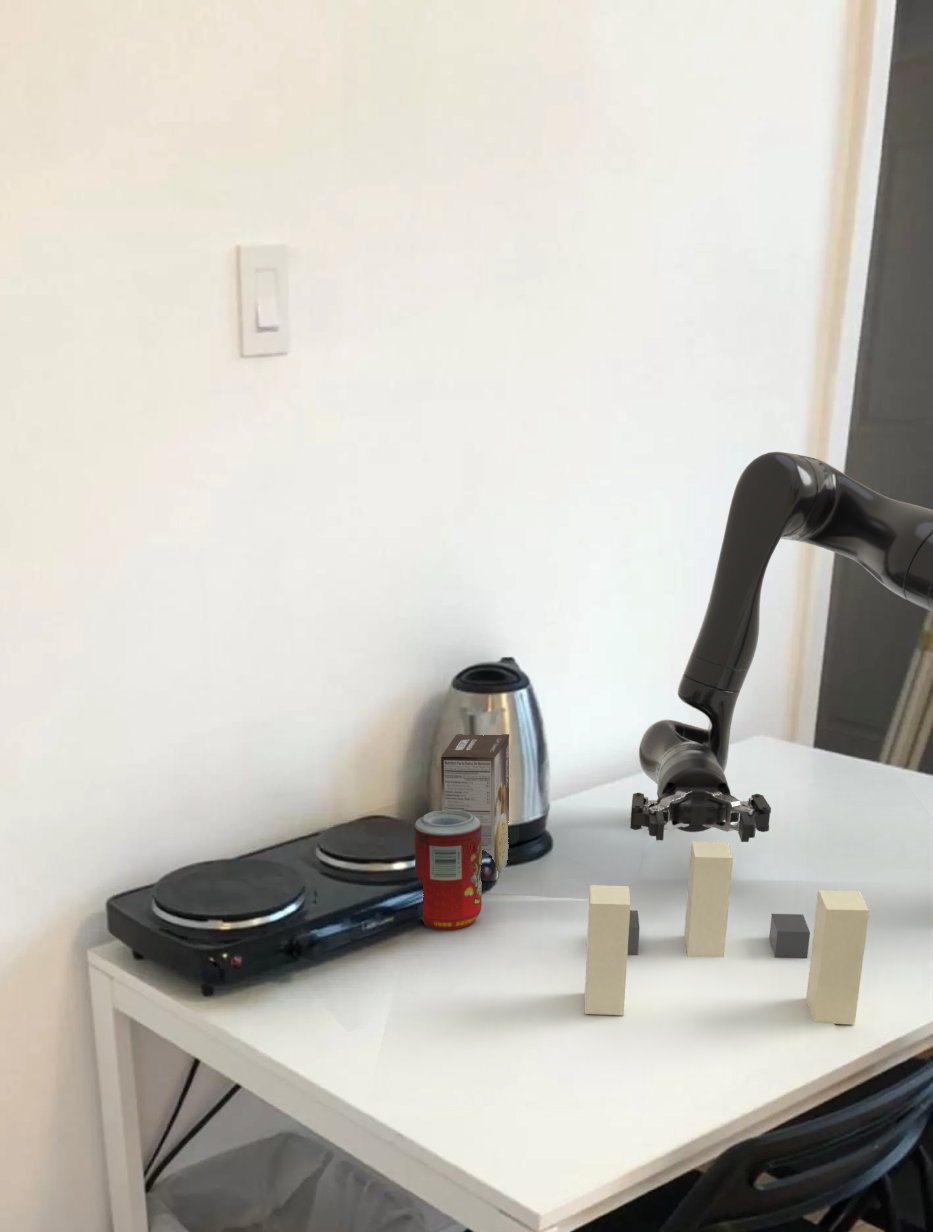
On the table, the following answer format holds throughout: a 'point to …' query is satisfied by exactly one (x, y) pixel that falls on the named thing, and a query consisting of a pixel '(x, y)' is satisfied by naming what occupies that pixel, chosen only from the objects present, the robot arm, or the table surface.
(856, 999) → the beige tall block
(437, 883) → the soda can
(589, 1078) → the table surface
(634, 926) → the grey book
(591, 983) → the cream rectangular block
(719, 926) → the tall beige block
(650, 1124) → the table surface
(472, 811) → the coffee box
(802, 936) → the charcoal foam cube
